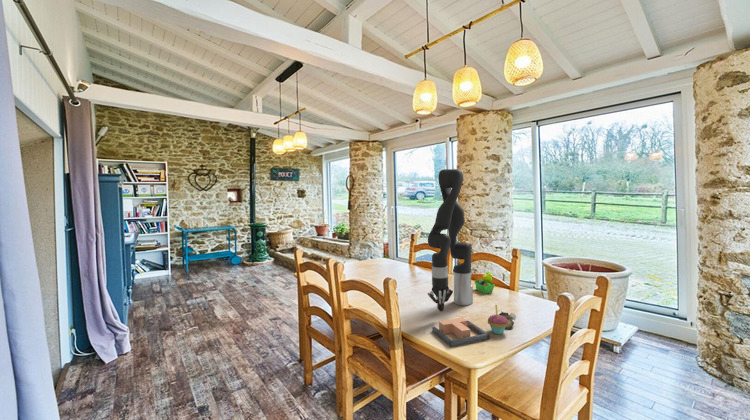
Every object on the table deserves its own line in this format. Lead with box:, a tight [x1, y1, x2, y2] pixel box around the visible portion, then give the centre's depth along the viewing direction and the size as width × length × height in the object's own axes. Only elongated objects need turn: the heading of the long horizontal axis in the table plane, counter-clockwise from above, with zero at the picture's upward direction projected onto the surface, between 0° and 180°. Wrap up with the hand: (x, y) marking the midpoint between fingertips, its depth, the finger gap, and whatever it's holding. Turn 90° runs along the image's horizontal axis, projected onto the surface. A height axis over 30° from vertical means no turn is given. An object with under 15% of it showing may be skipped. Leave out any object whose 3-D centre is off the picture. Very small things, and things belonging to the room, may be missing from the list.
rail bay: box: [431, 320, 491, 348], centre depth 137 cm, size 18×15×2 cm
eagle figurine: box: [498, 311, 517, 331], centre depth 145 cm, size 8×7×9 cm
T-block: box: [438, 316, 471, 339], centre depth 139 cm, size 12×12×4 cm
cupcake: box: [487, 304, 509, 335], centre depth 139 cm, size 9×8×12 cm
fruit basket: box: [473, 271, 496, 294], centre depth 194 cm, size 11×9×11 cm
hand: (440, 310), depth 153 cm, fingers closed
